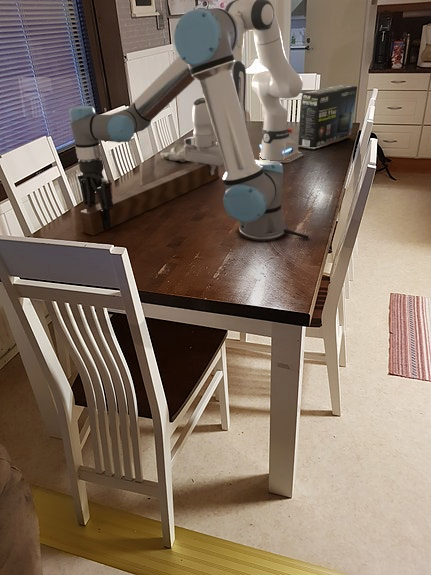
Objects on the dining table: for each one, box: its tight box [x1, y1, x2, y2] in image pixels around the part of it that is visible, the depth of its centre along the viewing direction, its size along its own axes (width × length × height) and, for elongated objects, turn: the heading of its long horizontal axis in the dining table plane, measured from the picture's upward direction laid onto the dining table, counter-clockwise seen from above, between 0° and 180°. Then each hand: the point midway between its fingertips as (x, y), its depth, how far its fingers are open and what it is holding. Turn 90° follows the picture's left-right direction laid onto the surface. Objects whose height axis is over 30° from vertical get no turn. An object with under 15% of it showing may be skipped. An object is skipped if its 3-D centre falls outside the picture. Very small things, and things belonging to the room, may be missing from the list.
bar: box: [79, 163, 220, 236], centre depth 176 cm, size 71×5×8 cm, turn 144°
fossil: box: [160, 142, 187, 163], centre depth 229 cm, size 18×11×15 cm
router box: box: [297, 84, 358, 151], centre depth 238 cm, size 36×11×27 cm, turn 134°
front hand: (102, 226), depth 157 cm, fingers closed on bar, 5 cm apart
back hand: (205, 173), depth 196 cm, fingers closed on bar, 5 cm apart
